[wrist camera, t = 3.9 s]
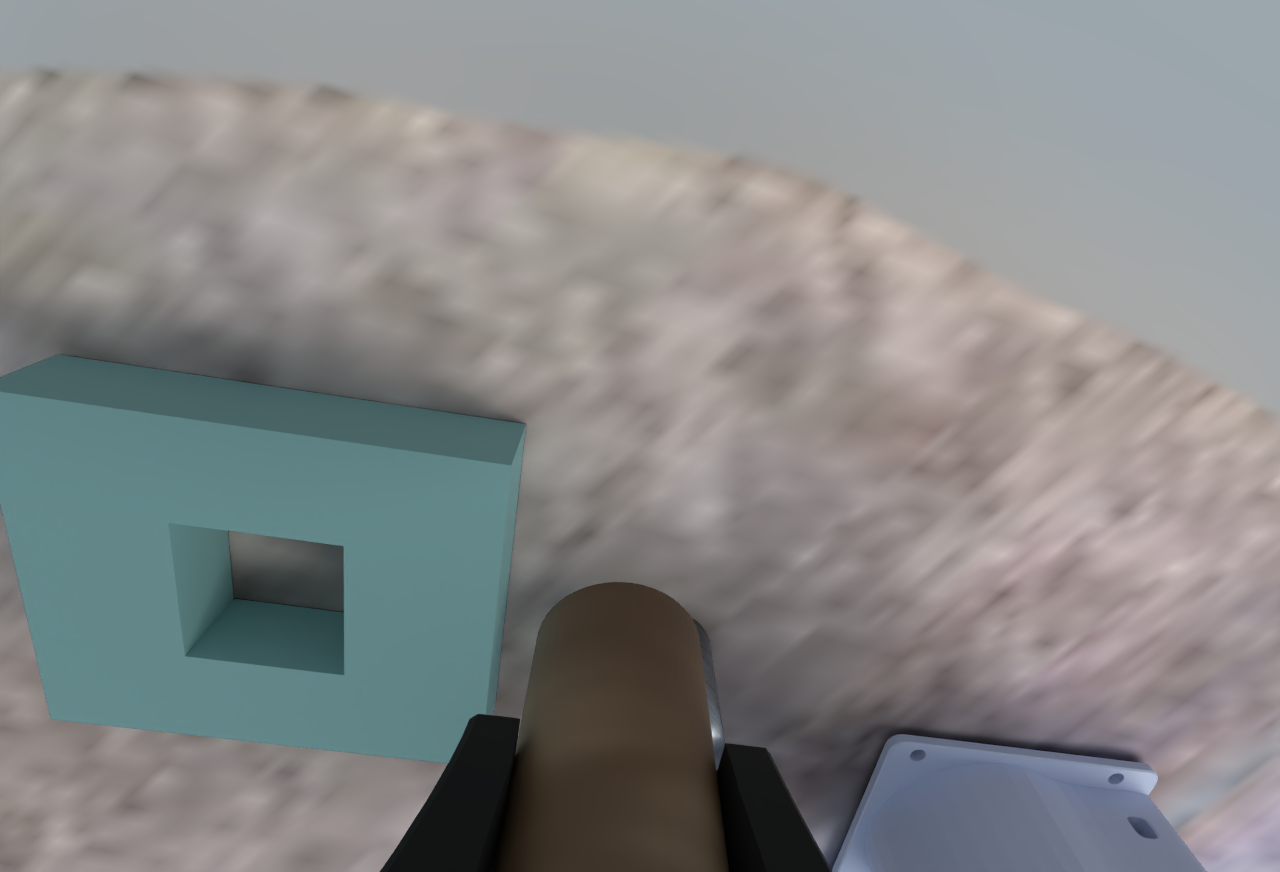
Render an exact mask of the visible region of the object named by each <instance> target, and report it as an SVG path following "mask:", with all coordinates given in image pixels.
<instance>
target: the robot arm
mask: <svg viewBox="0 0 1280 872" xmlns="http://www.w3.org/2000/svg"><path fill="white" fill-rule="evenodd" d="M519 724H520V719H518V718H510V717H502V716H493V715H485V714H477V715H475V716H473V717H472V718H470V719H469V721H468V724H467V726H466V728H465V731H464V733H463V735H462V737H461V739H460V741H459V743H458V745H457V748H456V750H455V752H454V753H453V755H452V757H451V759H450V761H449V763H448V765H447V766H446V768H445V770H444V772H443V774H442V775H441V777H440V779H439V781H438V782H437V784H436V786H435V787H434V789H433V791H432V792H431V794H430V796H429V798H428V799H427V801H426V802H425V804H424V806H423V807H422V809H421V810H420V812H419V813H418V815H417V816H416V818H415V820H414V821H413V823H412V824H411V826H410V827H409V829H408V831H407V832H406V834H405V835H404V837H403V838H402V840H401V841H400V843H399V845H398V846H397V848H396V849H395V851H394V852H393V854H392V855H391V857H390V858H389V859H388V861H387V862H386V864H385V865H384V867H383V868H382V869H381V871H380V872H493V869H494V864H495V858H496V853H497V848H498V842H499V837H500V832H501V828H502V823H503V818H504V813H505V808H506V802H507V797H508V792H509V786H510V781H511V776H512V770H513V765H514V760H515V753H516V746H517V739H518V731H519ZM915 750H916V751H915ZM717 778H718V786H719V794H720V802H721V809H722V817H723V825H724V833H725V841H726V848H727V856H728V864H729V872H1207V871H1206V870H1205V869H1204V867H1203V866H1202V865H1201V863H1200V862H1199V861H1198V860H1197V858H1196V857H1195V856H1194V854H1193V853H1192V852H1191V850H1190V849H1189V848H1188V847H1187V845H1186V844H1185V843H1184V841H1183V840H1182V839H1181V837H1180V836H1179V835H1178V834H1177V832H1176V831H1175V830H1174V828H1173V827H1172V826H1171V824H1170V823H1169V822H1168V821H1167V819H1166V818H1165V817H1164V815H1163V814H1162V813H1161V811H1160V810H1159V809H1158V808H1157V806H1156V805H1155V804H1154V802H1153V801H1152V800H1151V798H1150V797H1149V796H1148V795H1149V793H1150V792H1151V790H1152V789H1153V787H1154V786H1155V784H1156V782H1157V779H1158V777H1157V774H1156V773H1155V772H1154V770H1153V769H1152V768H1151V767H1150V766H1149V765H1148V764H1145V763H1139V762H1130V761H1122V760H1114V759H1106V758H1097V757H1089V756H1081V755H1072V754H1064V753H1056V752H1047V751H1039V750H1031V749H1023V748H1014V747H1006V746H998V745H989V744H981V743H973V742H964V741H956V740H948V739H940V738H931V737H923V736H915V735H906V734H898V735H894V736H892V737H891V738H889V739H888V740H887V742H886V743H885V746H884V748H883V750H882V753H881V755H880V757H879V760H878V762H877V764H876V767H875V769H874V772H873V774H872V776H871V779H870V781H869V783H868V786H867V788H866V791H865V793H864V795H863V798H862V800H861V802H860V805H859V807H858V810H857V812H856V814H855V817H854V819H853V821H852V824H851V826H850V829H849V831H848V833H847V836H846V838H845V840H844V843H843V845H842V847H841V850H840V852H839V855H838V857H837V859H836V862H835V864H834V866H833V869H832V870H831V868H830V867H829V865H828V863H827V861H826V859H825V858H824V856H823V854H822V852H821V851H820V849H819V847H818V845H817V843H816V841H815V840H814V838H813V836H812V834H811V832H810V830H809V828H808V827H807V825H806V823H805V821H804V819H803V817H802V815H801V814H800V812H799V810H798V808H797V806H796V804H795V802H794V800H793V798H792V796H791V794H790V792H789V790H788V788H787V787H786V785H785V783H784V781H783V779H782V777H781V775H780V773H779V771H778V769H777V767H776V765H775V763H774V761H773V759H772V757H771V755H770V753H769V752H768V751H767V749H766V748H761V747H753V746H744V745H736V744H728V743H725V746H724V749H723V753H722V756H721V759H720V763H719V766H718V769H717Z"/></svg>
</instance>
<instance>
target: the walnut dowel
mask: <svg viewBox="0 0 1280 872" xmlns="http://www.w3.org/2000/svg"><path fill="white" fill-rule="evenodd" d="M493 872H729V864H728V856H727V848H726V841H725V833H724V825H723V817H722V809H721V802H720V794H719V786H718V778H717V770H716V763H715V755H714V747H713V739H712V731H711V724H710V716H709V708H708V700H707V693H706V685H705V677H704V669H703V661H702V654H701V646H700V639H699V634H698V631H697V628H696V626H695V624H694V622H693V620H692V618H691V617H690V615H689V614H688V613H687V611H686V610H685V609H684V608H683V607H682V606H681V605H680V604H679V603H677V602H676V601H675V600H674V599H672V598H671V597H669V596H668V595H666V594H664V593H662V592H660V591H658V590H656V589H653V588H650V587H647V586H644V585H639V584H634V583H624V582H610V583H602V584H596V585H593V586H589V587H586V588H583V589H580V590H578V591H576V592H574V593H572V594H570V595H568V596H567V597H565V598H564V599H562V600H561V601H560V602H558V603H557V604H556V605H555V606H554V607H553V608H552V609H551V610H550V612H549V613H548V614H547V615H546V617H545V619H544V620H543V622H542V624H541V627H540V629H539V632H538V636H537V641H536V646H535V652H534V657H533V662H532V668H531V673H530V678H529V684H528V689H527V694H526V699H525V705H524V710H523V715H522V721H521V726H520V731H519V736H518V742H517V747H516V753H515V760H514V765H513V770H512V776H511V781H510V786H509V792H508V797H507V802H506V808H505V813H504V818H503V823H502V828H501V832H500V837H499V842H498V848H497V853H496V858H495V864H494V869H493Z"/></svg>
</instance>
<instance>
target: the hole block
mask: <svg viewBox="0 0 1280 872" xmlns="http://www.w3.org/2000/svg"><path fill="white" fill-rule="evenodd" d="M525 430H526V424H522V423H515V422H508V421H502V420H495V419H488V418H482V417H475V416H468V415H461V414H455V413H448V412H441V411H435V410H428V409H421V408H414V407H408V406H401V405H394V404H388V403H381V402H374V401H367V400H361V399H354V398H347V397H341V396H334V395H327V394H320V393H314V392H307V391H300V390H294V389H287V388H280V387H274V386H267V385H260V384H253V383H247V382H240V381H233V380H227V379H220V378H213V377H206V376H200V375H193V374H186V373H180V372H173V371H166V370H159V369H153V368H146V367H139V366H133V365H126V364H119V363H113V362H106V361H99V360H92V359H86V358H79V357H72V356H66V355H59V354H58V355H55V356H52V357H50V358H47V359H45V360H42V361H40V362H37V363H35V364H32V365H30V366H27V367H25V368H22V369H20V370H17V371H15V372H12V373H10V374H7V375H5V376H2V377H0V504H1V509H2V513H3V517H4V521H5V526H6V530H7V534H8V539H9V543H10V547H11V551H12V556H13V560H14V564H15V569H16V573H17V577H18V581H19V586H20V590H21V594H22V599H23V603H24V607H25V611H26V616H27V620H28V624H29V629H30V633H31V637H32V641H33V646H34V650H35V654H36V659H37V663H38V667H39V671H40V676H41V680H42V684H43V689H44V693H45V697H46V701H47V706H48V710H49V714H50V719H52V720H61V721H70V722H79V723H88V724H97V725H106V726H115V727H124V728H133V729H142V730H151V731H160V732H169V733H178V734H187V735H196V736H205V737H214V738H223V739H232V740H241V741H250V742H259V743H268V744H276V745H285V746H294V747H303V748H312V749H321V750H330V751H339V752H348V753H357V754H366V755H375V756H384V757H393V758H402V759H411V760H420V761H429V762H438V763H447V764H448V763H449V761H450V759H451V757H452V755H453V753H454V752H455V750H456V748H457V745H458V743H459V741H460V739H461V737H462V735H463V733H464V731H465V728H466V726H467V724H468V721H469V719H470V718H472V717H473V716H475V715H477V714H485V715H493V711H494V707H495V703H496V694H497V685H498V676H499V667H500V657H501V648H502V639H503V630H504V621H505V612H506V603H507V594H508V585H509V576H510V567H511V558H512V548H513V539H514V530H515V521H516V512H517V503H518V494H519V485H520V476H521V467H522V458H523V449H524V439H525ZM228 531H233V532H241V533H248V534H256V535H263V536H271V537H278V538H286V539H293V540H301V541H308V542H316V543H323V544H331V545H338V546H344V612H336V611H328V610H320V609H312V608H305V607H297V606H289V605H281V604H273V603H265V602H257V601H249V600H241V599H234V597H233V585H232V573H231V561H230V549H229V537H228Z"/></svg>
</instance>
